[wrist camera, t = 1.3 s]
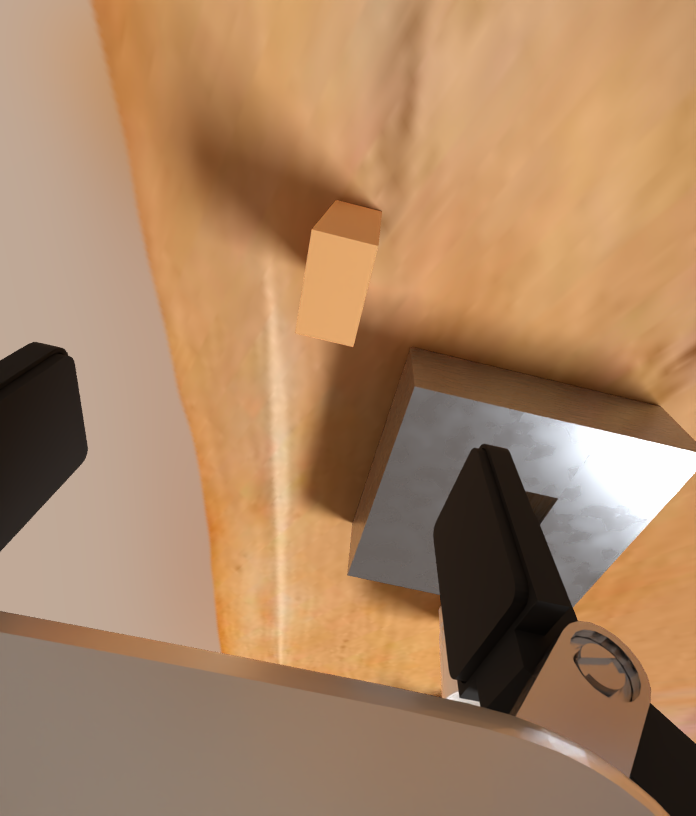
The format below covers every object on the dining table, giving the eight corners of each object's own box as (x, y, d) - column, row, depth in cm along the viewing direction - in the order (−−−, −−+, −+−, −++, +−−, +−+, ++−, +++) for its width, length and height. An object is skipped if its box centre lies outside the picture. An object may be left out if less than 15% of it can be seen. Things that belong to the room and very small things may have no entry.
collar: (660, 406, 33) (709, 455, 28) (541, 564, 44) (560, 620, 39) (410, 346, 32) (414, 386, 27) (352, 523, 43) (347, 575, 38)
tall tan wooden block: (381, 211, 27) (378, 245, 19) (363, 287, 30) (353, 347, 21) (336, 199, 27) (311, 229, 19) (321, 277, 30) (295, 333, 21)
